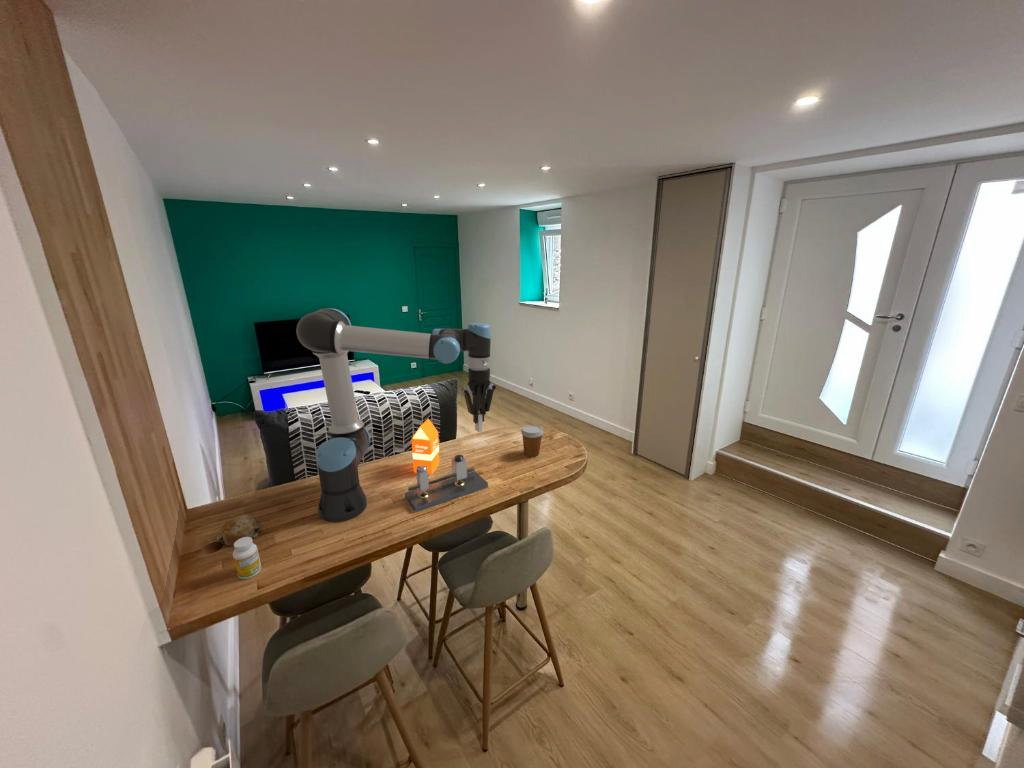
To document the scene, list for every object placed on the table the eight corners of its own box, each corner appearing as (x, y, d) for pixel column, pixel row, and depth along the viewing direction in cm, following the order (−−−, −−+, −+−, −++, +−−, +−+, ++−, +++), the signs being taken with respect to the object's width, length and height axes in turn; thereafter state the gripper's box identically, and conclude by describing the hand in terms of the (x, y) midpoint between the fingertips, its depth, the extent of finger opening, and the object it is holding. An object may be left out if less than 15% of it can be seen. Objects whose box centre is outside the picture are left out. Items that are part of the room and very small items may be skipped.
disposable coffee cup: (541, 460, 167) (542, 434, 163) (518, 458, 169) (519, 432, 165) (543, 450, 176) (544, 425, 172) (522, 448, 178) (523, 423, 174)
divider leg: (457, 485, 142) (456, 460, 139) (452, 480, 145) (451, 456, 142) (467, 481, 144) (466, 457, 141) (461, 476, 148) (461, 453, 145)
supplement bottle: (239, 568, 107) (232, 538, 104) (262, 562, 110) (256, 532, 107) (236, 582, 103) (228, 551, 100) (260, 575, 105) (253, 545, 102)
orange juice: (439, 463, 163) (437, 418, 157) (432, 474, 155) (429, 427, 149) (421, 461, 165) (419, 417, 159) (413, 472, 156) (410, 425, 150)
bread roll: (249, 555, 117) (257, 532, 116) (209, 549, 113) (217, 525, 112) (259, 534, 126) (267, 512, 125) (222, 527, 122) (230, 505, 121)
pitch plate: (415, 512, 132) (413, 478, 128) (405, 498, 140) (402, 465, 136) (487, 487, 147) (487, 455, 143) (474, 475, 155) (474, 445, 151)
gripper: (467, 373, 131) (467, 438, 138) (500, 368, 138) (499, 430, 145) (457, 367, 137) (457, 430, 144) (489, 363, 144) (488, 423, 151)
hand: (478, 430), depth 144 cm, fingers closed
